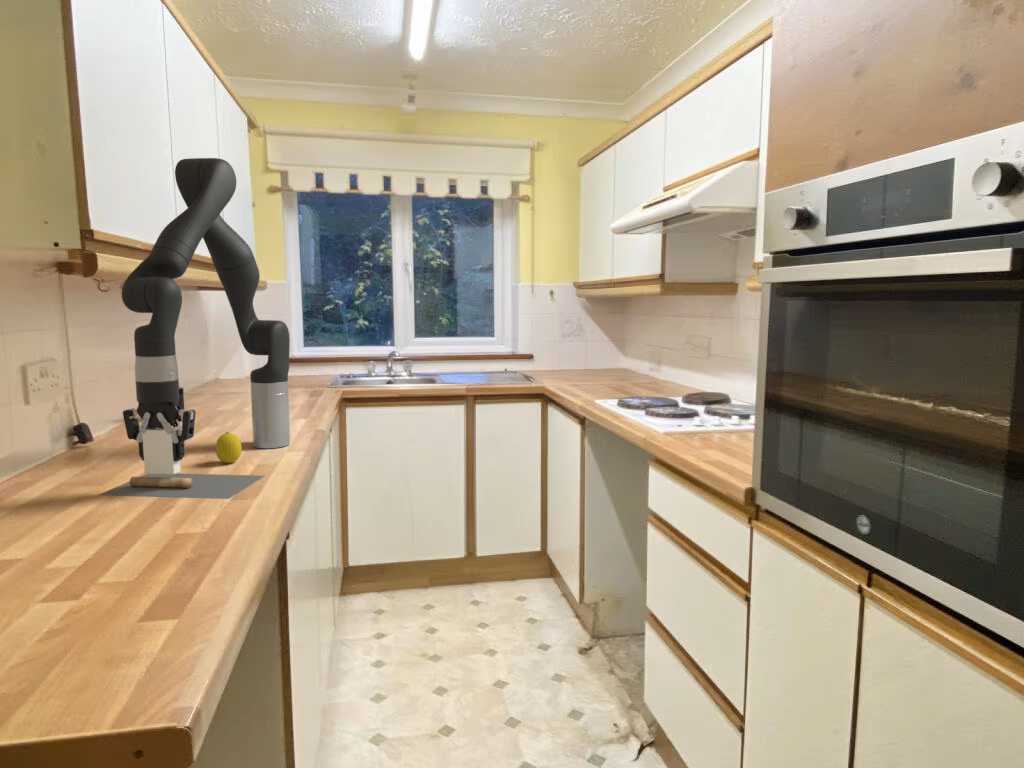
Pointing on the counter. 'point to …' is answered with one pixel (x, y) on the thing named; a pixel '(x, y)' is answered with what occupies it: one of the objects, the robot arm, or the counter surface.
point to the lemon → (228, 448)
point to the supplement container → (181, 400)
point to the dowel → (161, 482)
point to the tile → (159, 452)
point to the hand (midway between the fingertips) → (162, 459)
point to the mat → (200, 489)
